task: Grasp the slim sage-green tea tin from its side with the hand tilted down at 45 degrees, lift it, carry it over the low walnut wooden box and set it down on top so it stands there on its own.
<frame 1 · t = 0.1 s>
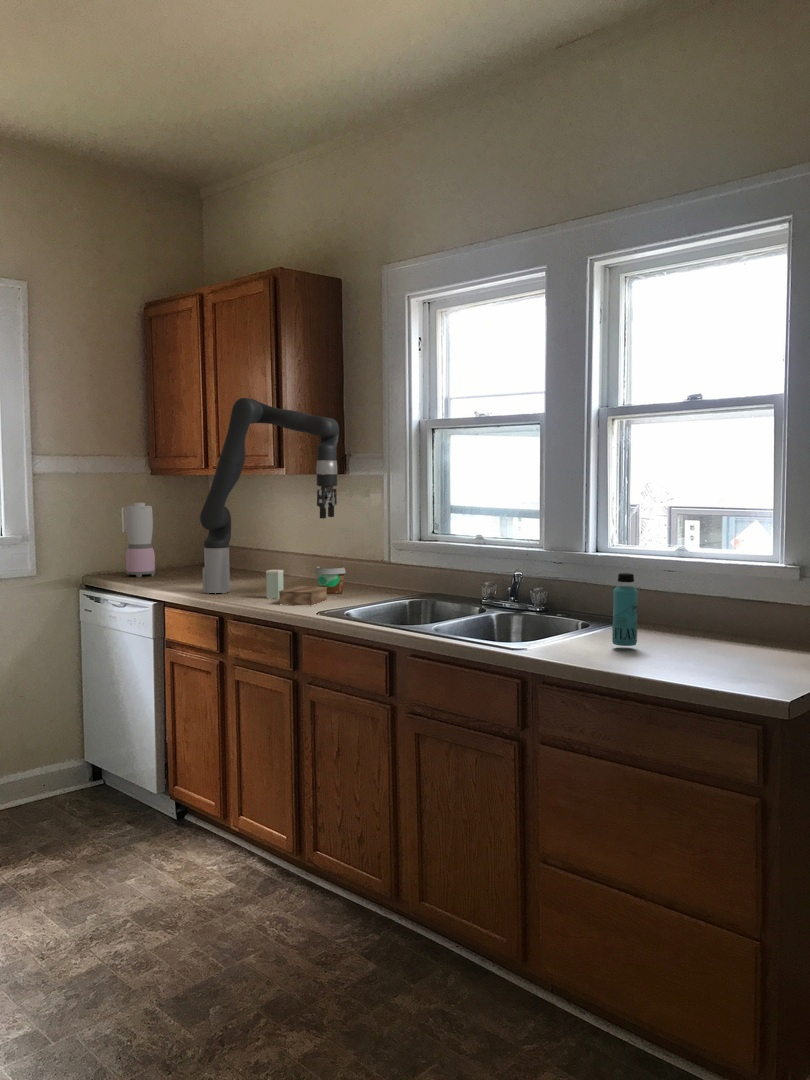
hand: (327, 517, 322), 29 cm above the worktop, tool pointing down, fingers open, 8 cm apart
beverage bottle: (624, 649, 231), on the worktop
tea tin: (275, 598, 323), on the worktop
food container: (327, 594, 332), on the worktop
walnut box: (303, 603, 312), on the worktop
blender: (139, 575, 390), on the worktop
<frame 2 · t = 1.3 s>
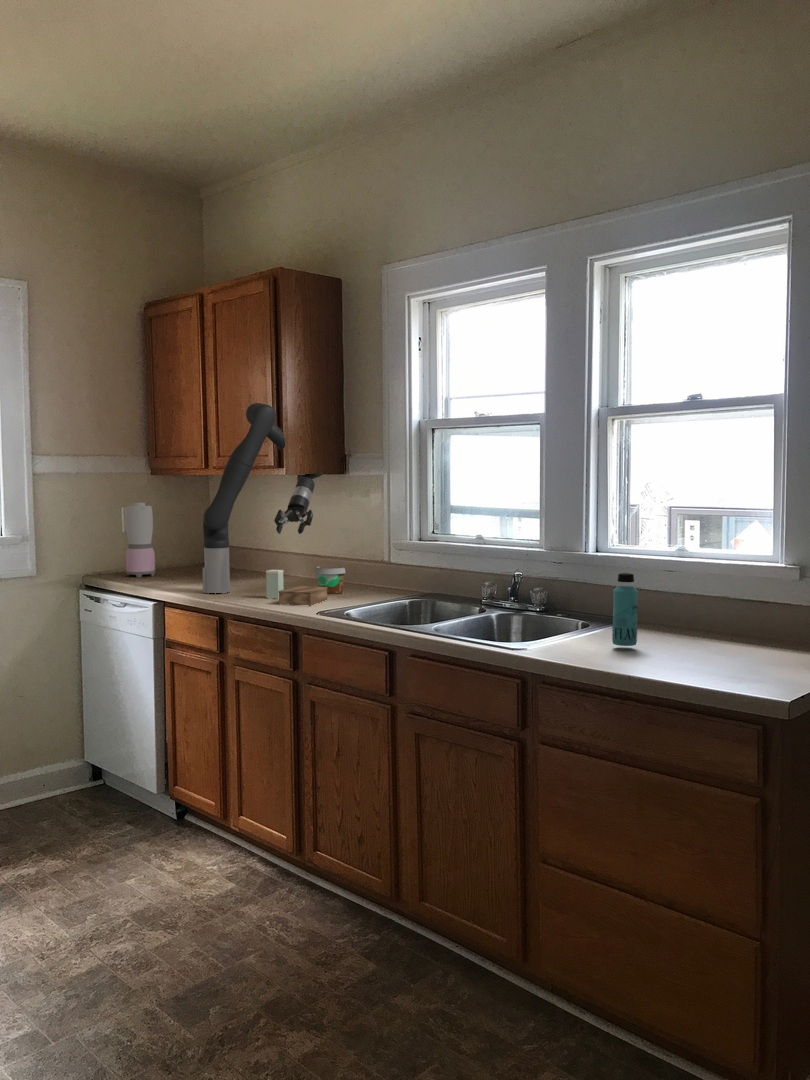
hand: (288, 532, 333), 23 cm above the worktop, tool tilted 45°, fingers open, 8 cm apart
nothing on the worktop moved.
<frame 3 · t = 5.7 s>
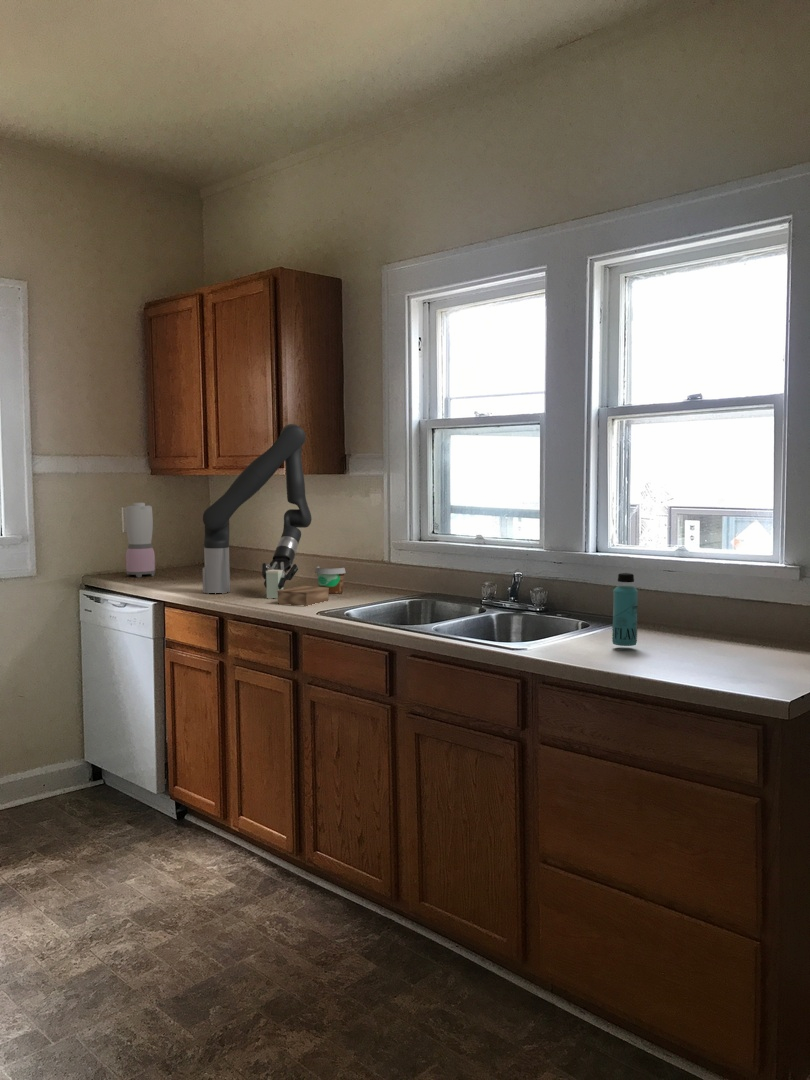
hand: (272, 587, 320), 4 cm above the worktop, tool tilted 45°, fingers closed on tea tin, 4 cm apart
tea tin: (275, 597, 323), on the worktop, touching gripper
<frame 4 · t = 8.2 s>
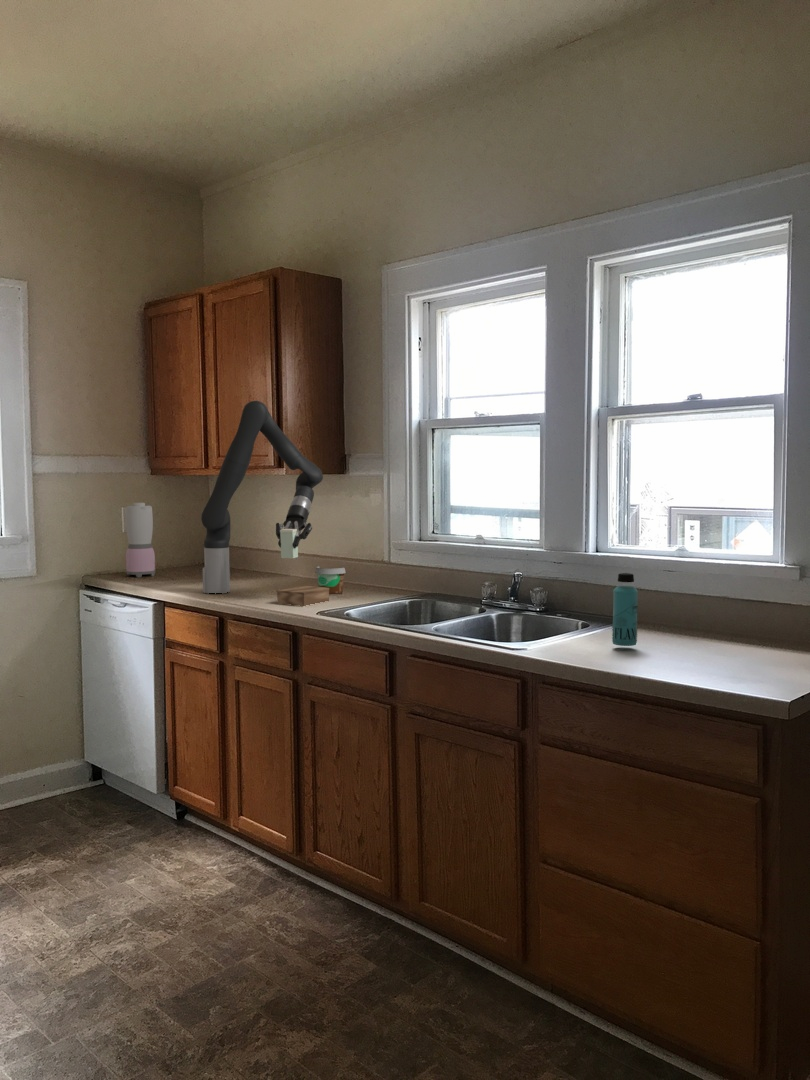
hand: (287, 546, 315), 19 cm above the worktop, tool tilted 45°, fingers closed on tea tin, 4 cm apart
tea tin: (289, 557, 317), point 15 cm above the worktop, touching gripper
when the fingers open (10 cm above the worktop, at t = 10.8 s): tea tin drops 1 cm, resting on walnut box.
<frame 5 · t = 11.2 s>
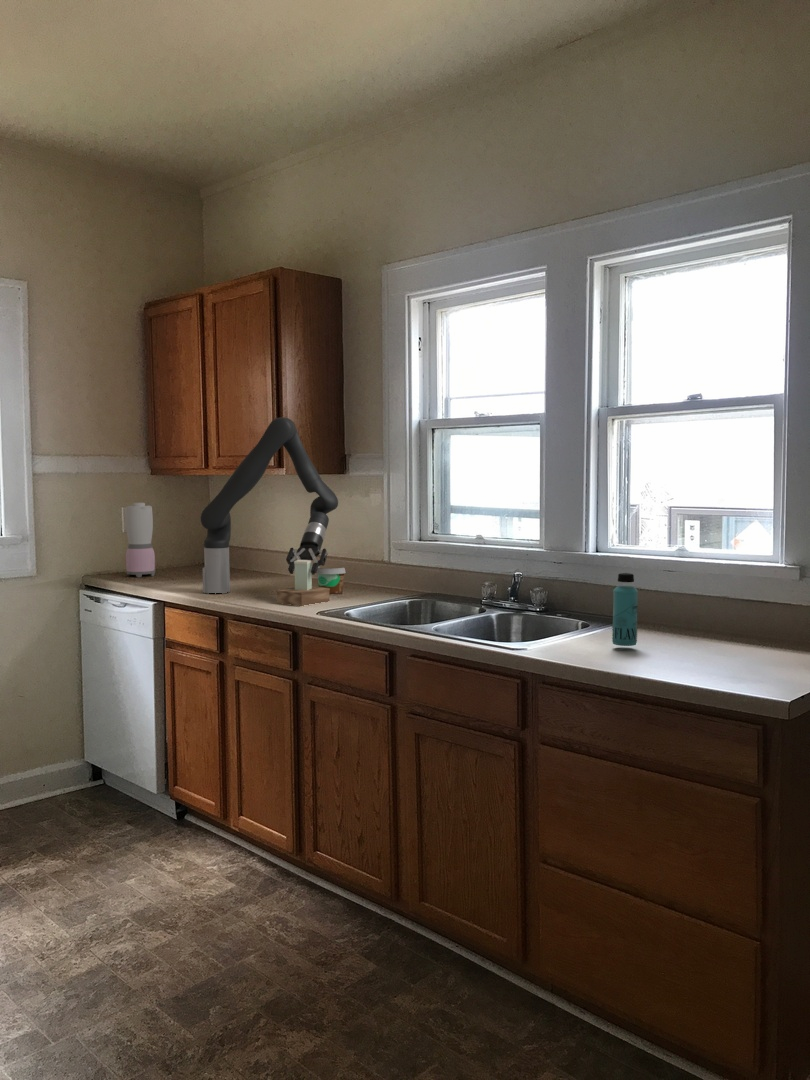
hand: (301, 573, 310), 11 cm above the worktop, tool tilted 45°, fingers open, 8 cm apart
tea tin: (303, 589, 312), point 5 cm above the worktop, touching walnut box
walnut box: (303, 603, 312), on the worktop, touching tea tin
everything else where it was.
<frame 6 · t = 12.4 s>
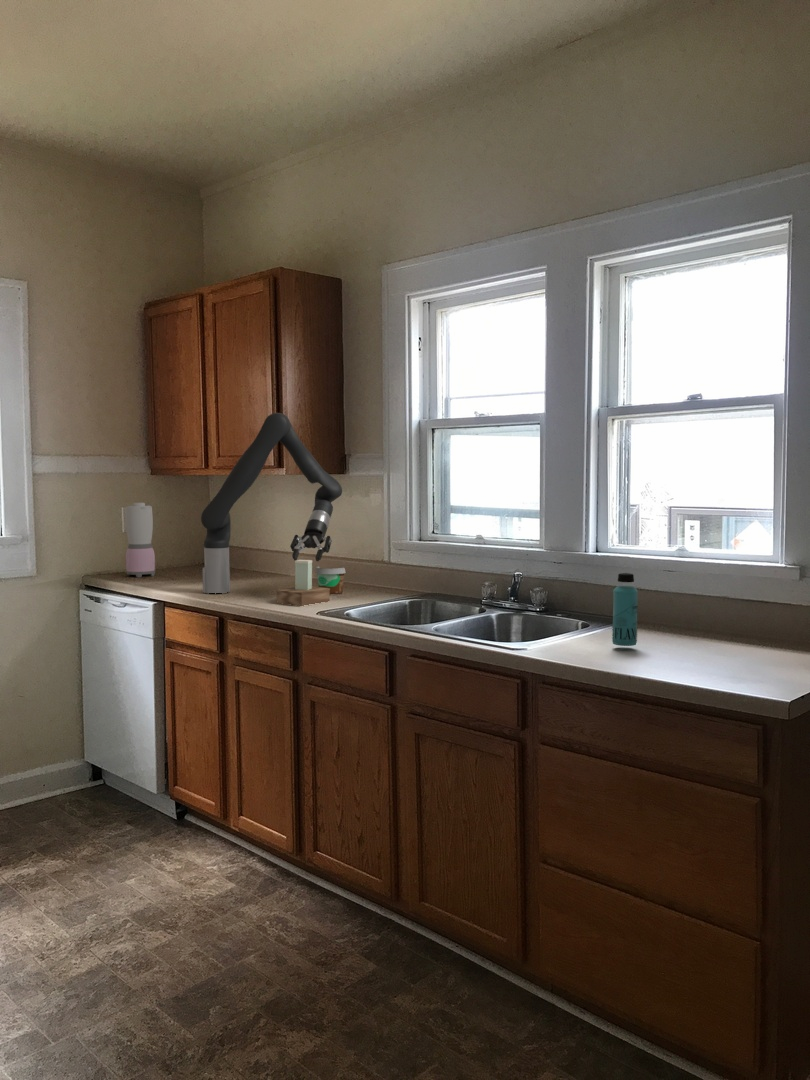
hand: (305, 559, 314), 15 cm above the worktop, tool tilted 45°, fingers open, 8 cm apart
tea tin: (303, 589, 312), point 5 cm above the worktop
walnut box: (303, 603, 312), on the worktop
everything else where it was.
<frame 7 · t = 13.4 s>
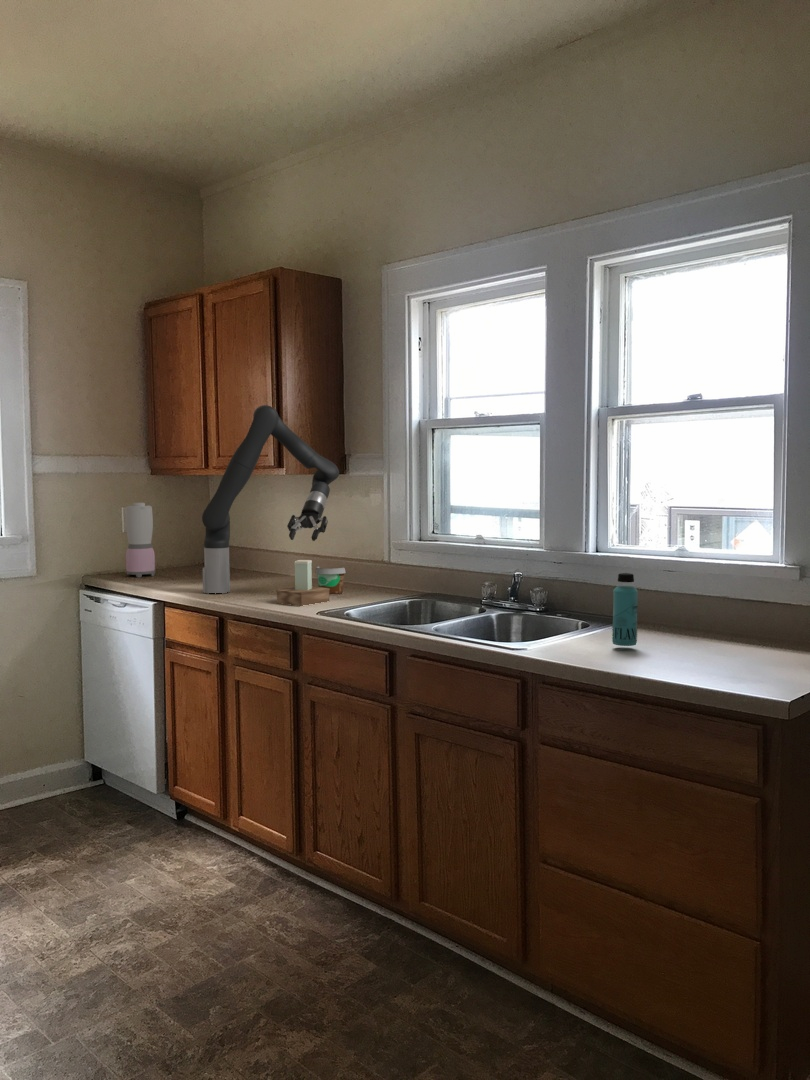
hand: (302, 539, 320), 22 cm above the worktop, tool tilted 45°, fingers open, 8 cm apart
tea tin: (303, 589, 312), point 5 cm above the worktop, touching walnut box
walnut box: (303, 603, 312), on the worktop, touching tea tin
everything else where it was.
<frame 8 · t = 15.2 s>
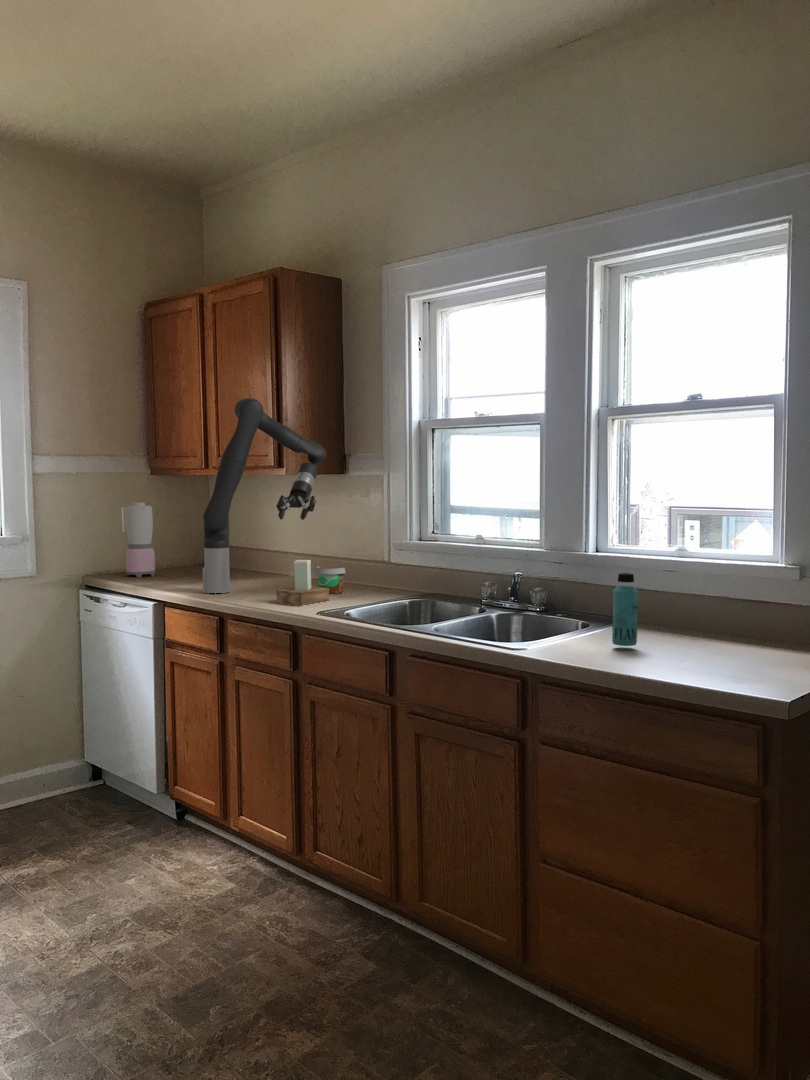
hand: (291, 518, 328), 29 cm above the worktop, tool tilted 45°, fingers open, 8 cm apart
nothing on the worktop moved.
at the end: tea tin inside the target area on the walnut box (0.3 cm from its centre), point 5.1 cm above the walnut box's base; tea tin tilted 1°; the gripper is holding nothing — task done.
